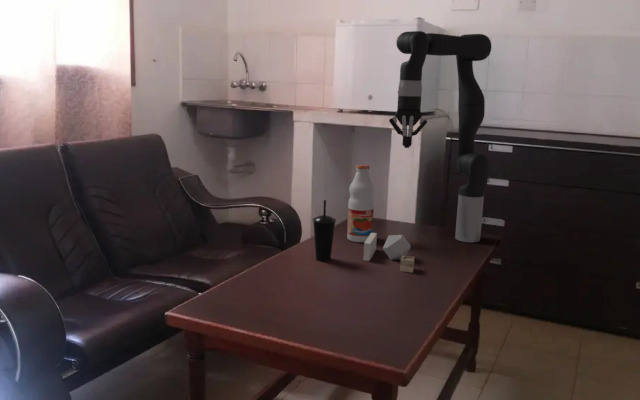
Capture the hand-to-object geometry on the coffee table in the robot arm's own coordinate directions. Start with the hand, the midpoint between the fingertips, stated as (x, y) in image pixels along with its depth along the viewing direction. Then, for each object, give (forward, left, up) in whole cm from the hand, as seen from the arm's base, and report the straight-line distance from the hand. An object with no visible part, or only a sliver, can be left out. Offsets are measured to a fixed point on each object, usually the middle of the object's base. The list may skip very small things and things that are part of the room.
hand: (406, 147), depth 203 cm
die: (+5, -1, -37) cm, 38 cm away
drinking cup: (+14, -24, -37) cm, 46 cm away
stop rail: (+4, -10, -37) cm, 39 cm away
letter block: (+16, +4, -37) cm, 41 cm away
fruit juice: (-14, -17, -37) cm, 43 cm away
